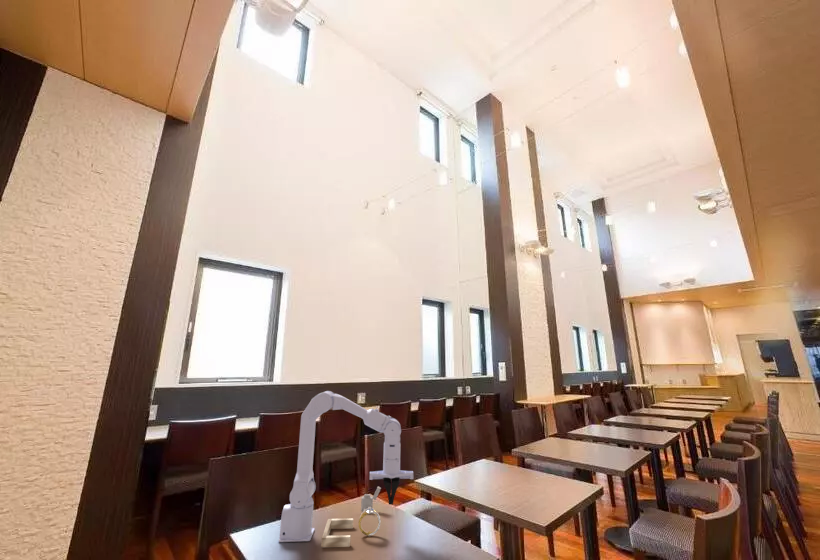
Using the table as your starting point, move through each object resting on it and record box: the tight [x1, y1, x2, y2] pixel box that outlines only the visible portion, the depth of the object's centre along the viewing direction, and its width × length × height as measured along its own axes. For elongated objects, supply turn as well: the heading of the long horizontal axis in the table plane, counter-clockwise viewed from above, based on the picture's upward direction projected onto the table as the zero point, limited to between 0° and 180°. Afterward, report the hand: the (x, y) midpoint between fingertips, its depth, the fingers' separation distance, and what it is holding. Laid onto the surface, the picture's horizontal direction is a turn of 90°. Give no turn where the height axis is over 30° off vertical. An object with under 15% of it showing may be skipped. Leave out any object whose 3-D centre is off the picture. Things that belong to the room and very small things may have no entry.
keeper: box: [320, 517, 354, 548], centre depth 108 cm, size 8×13×2 cm, turn 5°
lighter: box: [360, 486, 382, 512], centre depth 129 cm, size 7×2×8 cm, turn 89°
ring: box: [358, 507, 381, 537], centre depth 110 cm, size 7×3×8 cm, turn 90°
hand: (390, 503), depth 112 cm, fingers closed
